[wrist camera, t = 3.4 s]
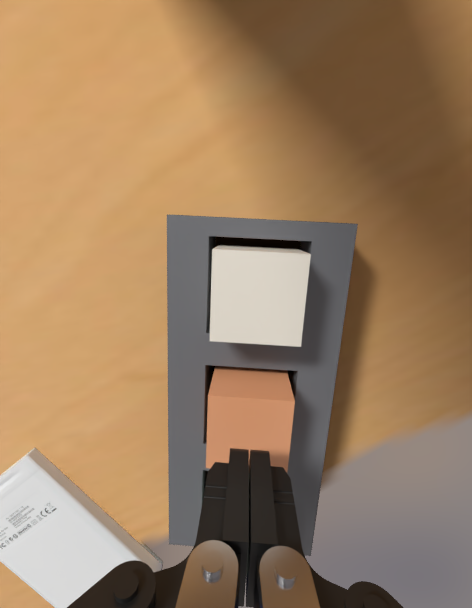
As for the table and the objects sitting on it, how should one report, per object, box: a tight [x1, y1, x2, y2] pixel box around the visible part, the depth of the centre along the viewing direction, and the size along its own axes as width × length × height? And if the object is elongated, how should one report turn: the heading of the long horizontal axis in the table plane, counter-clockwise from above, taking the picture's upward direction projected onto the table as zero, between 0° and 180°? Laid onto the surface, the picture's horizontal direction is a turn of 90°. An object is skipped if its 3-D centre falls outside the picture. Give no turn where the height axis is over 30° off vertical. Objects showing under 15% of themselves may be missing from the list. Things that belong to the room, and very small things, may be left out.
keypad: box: [167, 215, 358, 556], centre depth 16 cm, size 18×8×3 cm, turn 177°
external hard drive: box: [0, 448, 163, 608], centre depth 21 cm, size 2×8×12 cm
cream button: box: [210, 244, 311, 347], centre depth 13 cm, size 4×4×3 cm
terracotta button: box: [206, 366, 295, 472], centre depth 15 cm, size 4×4×3 cm
